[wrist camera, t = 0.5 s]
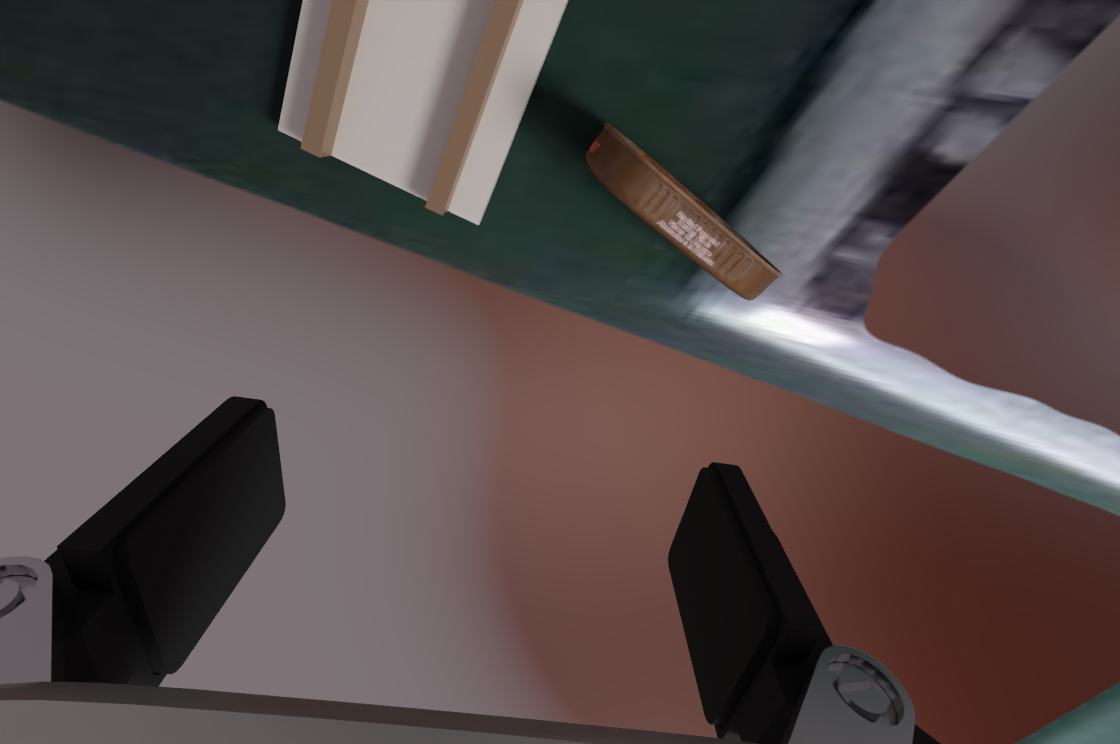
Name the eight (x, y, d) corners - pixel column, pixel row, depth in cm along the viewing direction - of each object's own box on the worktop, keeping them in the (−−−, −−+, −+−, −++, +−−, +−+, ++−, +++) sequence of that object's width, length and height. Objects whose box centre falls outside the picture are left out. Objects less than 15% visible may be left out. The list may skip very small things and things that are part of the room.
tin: (758, 250, 37) (809, 284, 30) (728, 282, 38) (769, 323, 31) (603, 116, 33) (617, 117, 25) (575, 157, 34) (580, 169, 26)
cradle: (356, -218, 25) (332, -257, 23) (594, -66, 28) (598, -85, 26) (286, 129, 33) (263, 130, 30) (480, 222, 36) (474, 230, 33)
